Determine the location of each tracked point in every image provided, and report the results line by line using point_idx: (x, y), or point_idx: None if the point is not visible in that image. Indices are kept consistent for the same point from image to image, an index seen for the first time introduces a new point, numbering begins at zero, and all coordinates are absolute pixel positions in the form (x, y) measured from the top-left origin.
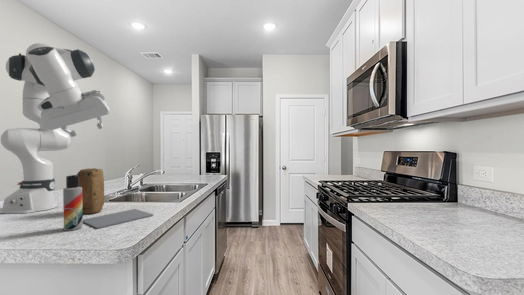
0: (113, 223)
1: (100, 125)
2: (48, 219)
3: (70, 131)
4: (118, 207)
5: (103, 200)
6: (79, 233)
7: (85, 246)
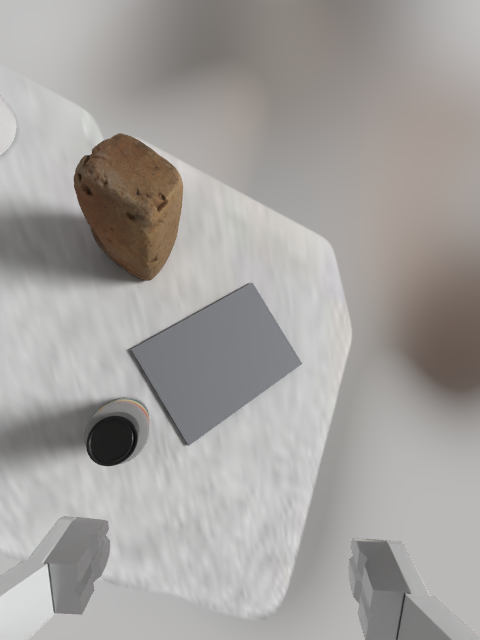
0: (221, 419)
1: (398, 624)
2: (31, 287)
3: (43, 594)
4: (203, 229)
5: (173, 245)
6: (152, 469)
7: (188, 582)
